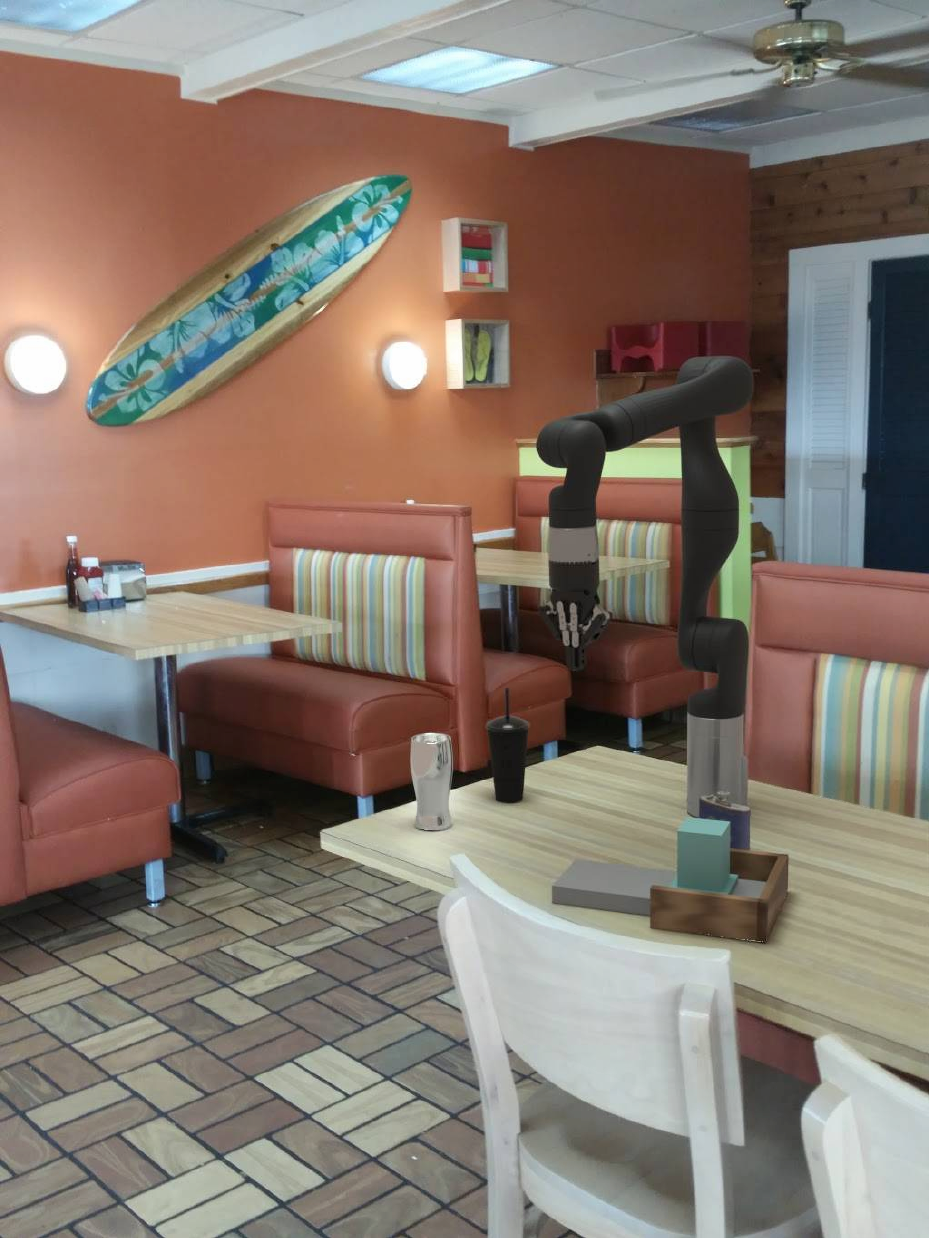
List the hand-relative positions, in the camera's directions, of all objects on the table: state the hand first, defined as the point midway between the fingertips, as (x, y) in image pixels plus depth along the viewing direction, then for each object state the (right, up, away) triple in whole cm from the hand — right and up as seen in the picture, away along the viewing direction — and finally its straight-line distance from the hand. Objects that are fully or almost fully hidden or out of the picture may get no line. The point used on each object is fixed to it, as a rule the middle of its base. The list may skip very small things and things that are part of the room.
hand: (576, 669), depth 194 cm
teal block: (+16, -30, -17) cm, 38 cm away
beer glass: (-22, -27, +20) cm, 40 cm away
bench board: (+10, -32, -14) cm, 36 cm away
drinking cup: (-9, -24, +32) cm, 41 cm away
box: (+18, -32, -17) cm, 41 cm away
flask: (+22, -29, +1) cm, 37 cm away
